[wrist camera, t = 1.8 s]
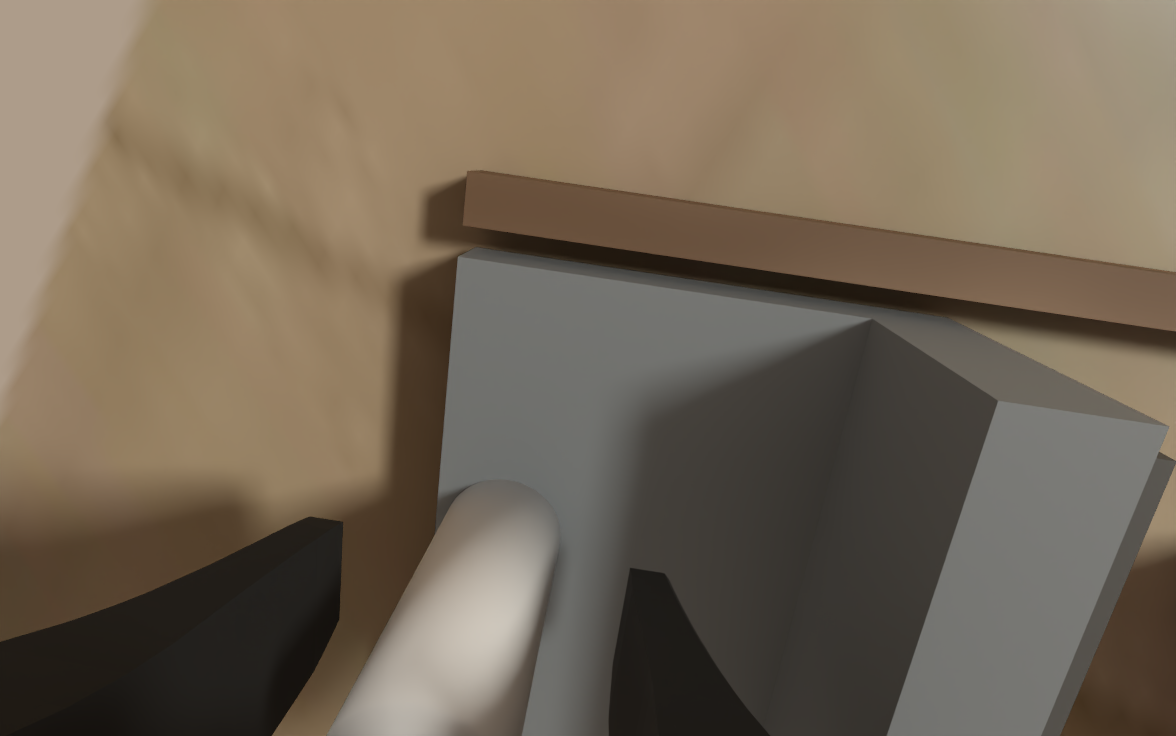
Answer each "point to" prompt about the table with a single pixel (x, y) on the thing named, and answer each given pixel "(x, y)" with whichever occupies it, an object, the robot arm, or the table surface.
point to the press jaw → (757, 512)
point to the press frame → (822, 249)
